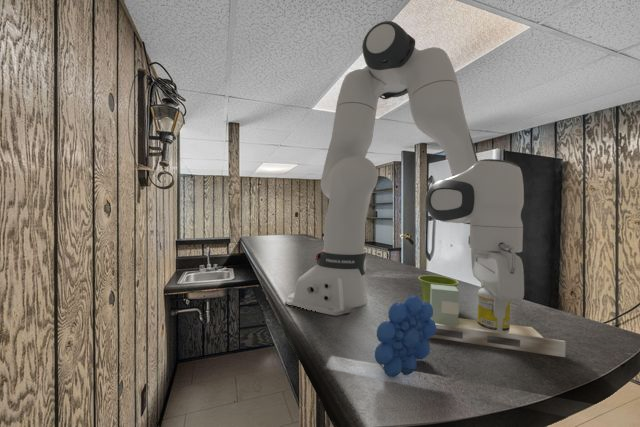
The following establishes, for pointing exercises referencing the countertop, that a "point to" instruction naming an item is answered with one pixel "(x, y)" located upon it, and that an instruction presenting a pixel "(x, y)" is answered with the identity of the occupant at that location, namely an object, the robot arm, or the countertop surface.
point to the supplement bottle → (485, 313)
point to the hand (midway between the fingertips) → (493, 310)
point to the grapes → (405, 336)
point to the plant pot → (436, 280)
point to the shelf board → (501, 337)
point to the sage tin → (444, 304)
